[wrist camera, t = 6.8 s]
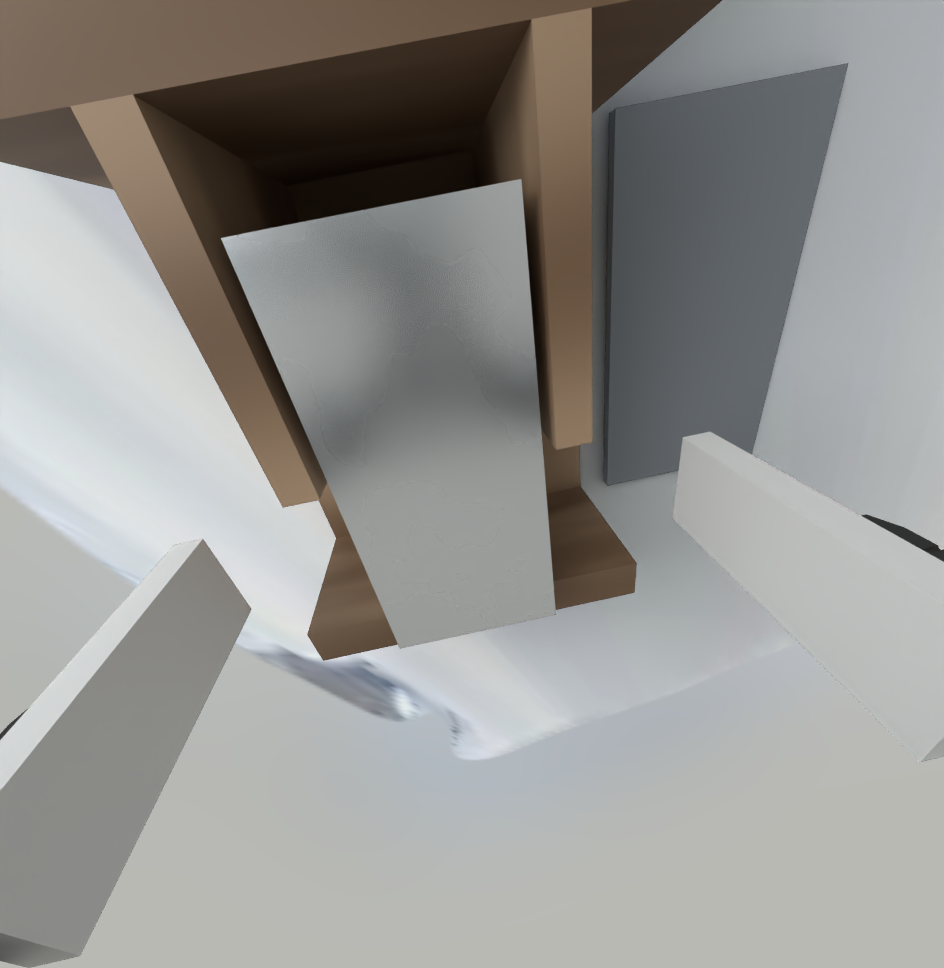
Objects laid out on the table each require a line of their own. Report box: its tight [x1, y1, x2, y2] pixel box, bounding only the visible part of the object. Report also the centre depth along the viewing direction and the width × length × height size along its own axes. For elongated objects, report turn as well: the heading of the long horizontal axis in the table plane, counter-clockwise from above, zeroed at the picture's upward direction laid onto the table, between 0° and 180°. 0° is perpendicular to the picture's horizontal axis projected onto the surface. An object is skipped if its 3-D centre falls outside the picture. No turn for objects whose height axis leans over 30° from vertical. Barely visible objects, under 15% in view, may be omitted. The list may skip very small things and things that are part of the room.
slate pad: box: [604, 63, 848, 486], centre depth 14 cm, size 13×7×1 cm, turn 10°
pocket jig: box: [0, 0, 722, 661], centre depth 11 cm, size 14×11×8 cm
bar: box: [221, 179, 556, 648], centre depth 10 cm, size 10×5×4 cm, turn 10°
